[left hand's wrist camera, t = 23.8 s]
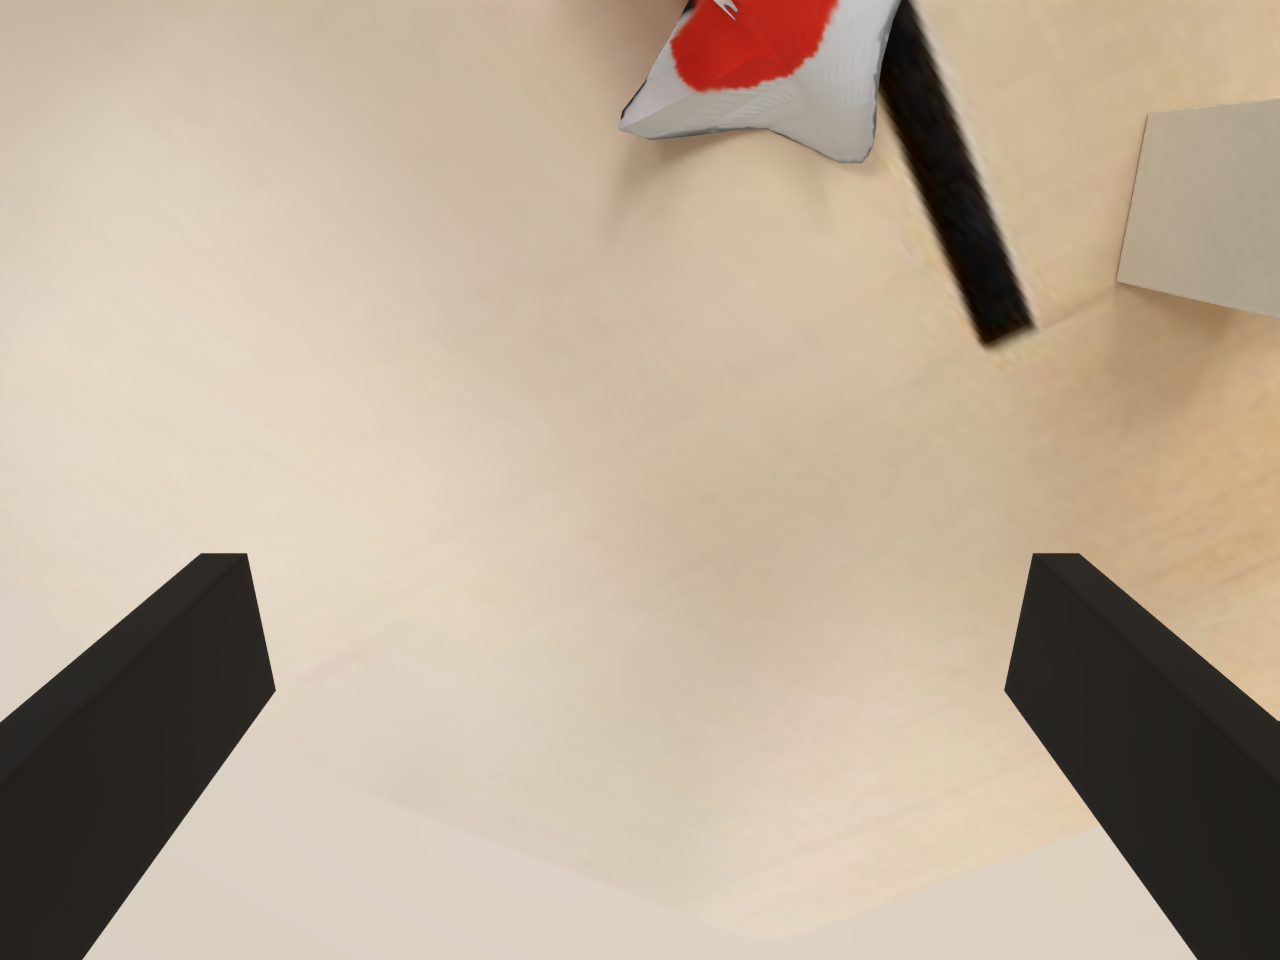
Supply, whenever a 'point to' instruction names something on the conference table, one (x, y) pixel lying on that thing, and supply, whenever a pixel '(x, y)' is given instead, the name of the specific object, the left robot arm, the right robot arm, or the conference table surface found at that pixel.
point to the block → (1208, 207)
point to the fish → (770, 73)
